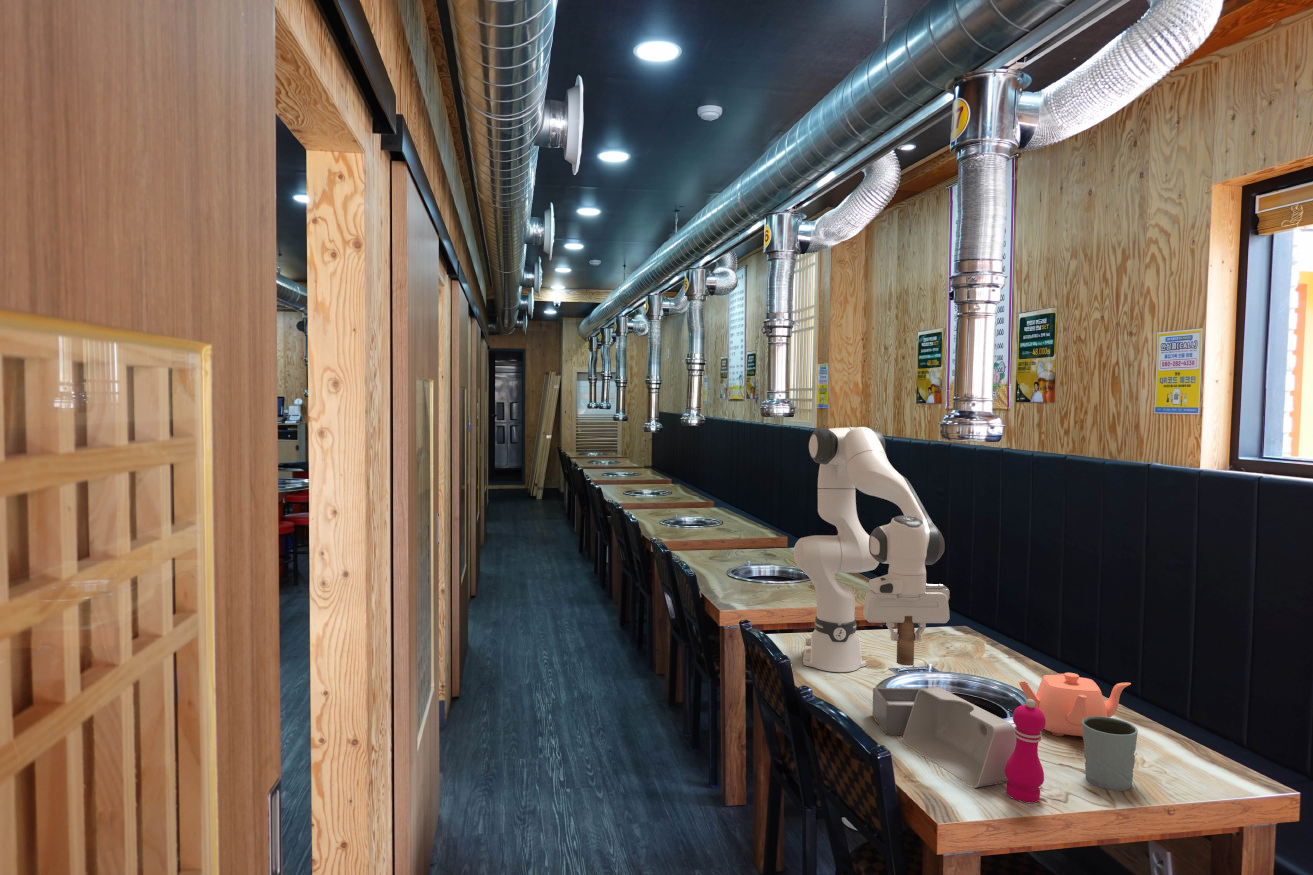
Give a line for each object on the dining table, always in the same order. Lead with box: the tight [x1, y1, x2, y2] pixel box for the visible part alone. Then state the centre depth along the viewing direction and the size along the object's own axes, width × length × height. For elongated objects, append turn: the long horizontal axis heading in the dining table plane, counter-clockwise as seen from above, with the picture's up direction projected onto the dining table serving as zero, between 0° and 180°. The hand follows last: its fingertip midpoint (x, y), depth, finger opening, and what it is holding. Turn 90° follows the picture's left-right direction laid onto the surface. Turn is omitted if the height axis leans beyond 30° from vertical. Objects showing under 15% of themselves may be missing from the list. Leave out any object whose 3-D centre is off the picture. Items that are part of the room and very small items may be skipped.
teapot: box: [1018, 672, 1132, 739], centre depth 198 cm, size 18×18×14 cm
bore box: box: [871, 687, 922, 736], centre depth 201 cm, size 12×12×7 cm
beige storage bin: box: [902, 686, 1016, 789], centre depth 182 cm, size 25×16×12 cm, turn 20°
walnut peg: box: [896, 616, 916, 667], centre depth 200 cm, size 4×4×12 cm
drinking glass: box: [1082, 716, 1139, 792], centre depth 172 cm, size 10×10×12 cm
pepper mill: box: [1005, 699, 1046, 803], centre depth 165 cm, size 7×7×20 cm
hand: (905, 640), depth 200 cm, fingers closed on walnut peg, 4 cm apart
